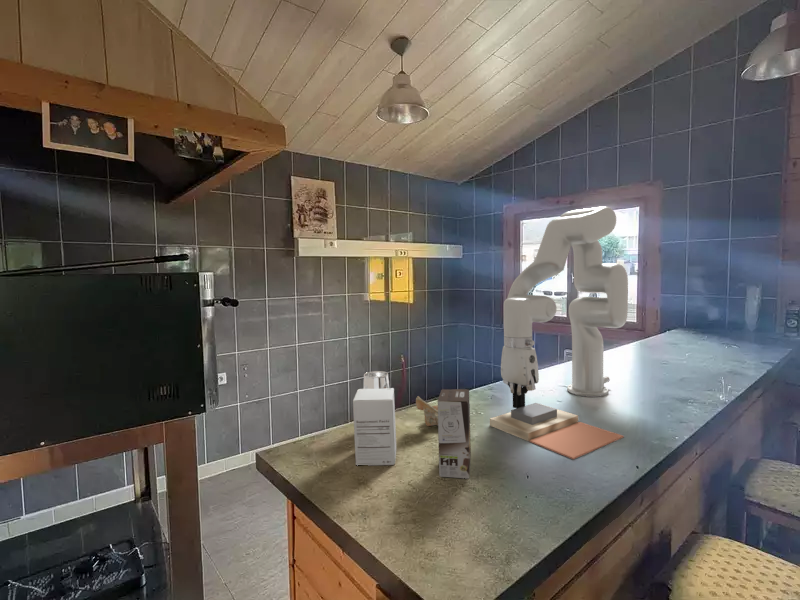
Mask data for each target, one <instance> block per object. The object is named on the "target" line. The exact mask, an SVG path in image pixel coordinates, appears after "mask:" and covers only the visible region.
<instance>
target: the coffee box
mask: <svg viewBox="0 0 800 600" xmlns="http://www.w3.org/2000/svg"><path fill="white" fill-rule="evenodd" d="M437 405H438V426H437V429H438V431H437V434H438V435H437V437H438V473H439V474H438V476H439V477H440V478H455V479H464V478H465V479H466V480H467V479H470V473H471V472H470V471H471V462H472V458H471V457H472V452H471V451H472V449H471V448H472V447H471V446H472V445H471V415H470V414H471V411H470V407H471V406H470V405H471V404H470V389H469V388H468V389H467V388H456V389H455V388H454V389H445V388H444V389H441V390H440V393H439V395H438V398H437Z"/></svg>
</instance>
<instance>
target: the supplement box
mask: <svg viewBox="0 0 800 600" xmlns="http://www.w3.org/2000/svg"><path fill="white" fill-rule="evenodd" d="M395 406H396V405H395V388H394V387H389V388H383V389H364V388H359V389H357V391H356V393H355V395H354V396H353V400H352V408H353V409H352V410H353V412H352V414H353V430H354V432H353V433H354V434H353V435H354V454H355V466H356V465H357V467H359V466H358V465H368V466H395V465H396V459H397V458H396V457H397V431H396V430H397V428H396V407H395ZM394 464H395V465H394Z"/></svg>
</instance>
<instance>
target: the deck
mask: <svg viewBox="0 0 800 600" xmlns="http://www.w3.org/2000/svg"><path fill="white" fill-rule="evenodd" d="M540 404H541V403H540ZM541 405H543V404H541ZM547 406H548V405H547ZM548 407H551V406H548ZM551 408H554V409H557V417H554V418H551V419H548V420H545V421H542V422H539V423H536V424H534V425H531V424H528V423H525V422H522V421H520V420H517V419H514V418H511V411H509V412H506V413H503V414H500V415H497V416H494V417H490V418H489V426H490V427H493V428H495V429H497V430H500V431H502V432H504V433H507V434H509V435H512V436H514V437H517V438H519V439H522V440H524V441H526V442H530V440H531V439H534V438H537V437H540V436H542V435H545V434H548V433H550V432H553V431H556V430H559V429H561V428H564V427H567V426H570V425H572V424H575V423H578V422H579V415H578V414H574V413H571V412H568V411H565V410H561V409H558V408H555V407H551Z"/></svg>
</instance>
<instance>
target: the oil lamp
mask: <svg viewBox="0 0 800 600" xmlns="http://www.w3.org/2000/svg"><path fill="white" fill-rule="evenodd" d="M415 405H416V408H417V410H419V411H420V410H421V411H423V415H424V422H425V425H426V427H427V426H428V427H432V426H437V427H438V404H437V405H432V404H431V405H430V404H429V403H428V402H426V401H425V400H424V399H422V398H421V397H420V396H419V395H418V396H417V397H416V398H415Z"/></svg>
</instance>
